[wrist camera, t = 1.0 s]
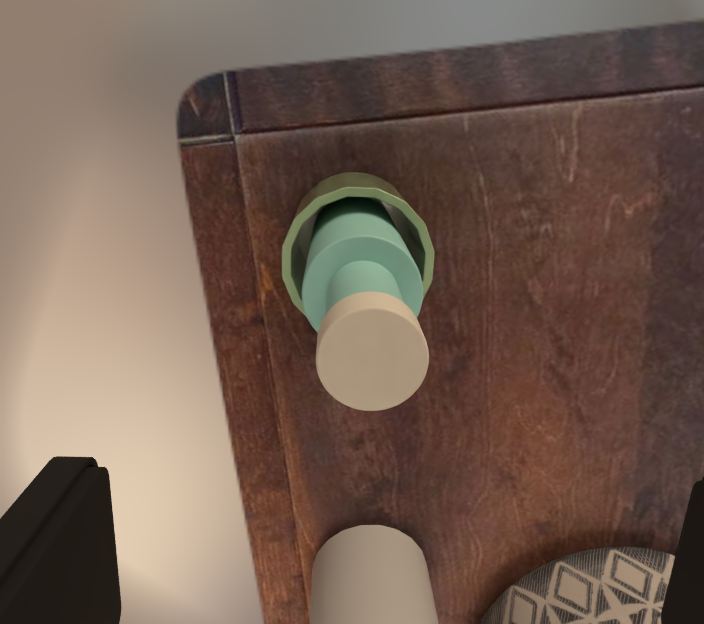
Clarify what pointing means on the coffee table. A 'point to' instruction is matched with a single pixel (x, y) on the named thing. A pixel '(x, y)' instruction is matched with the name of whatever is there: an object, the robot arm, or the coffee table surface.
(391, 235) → the bottle
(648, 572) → the planter
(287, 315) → the coffee table surface
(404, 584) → the can
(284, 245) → the holder
